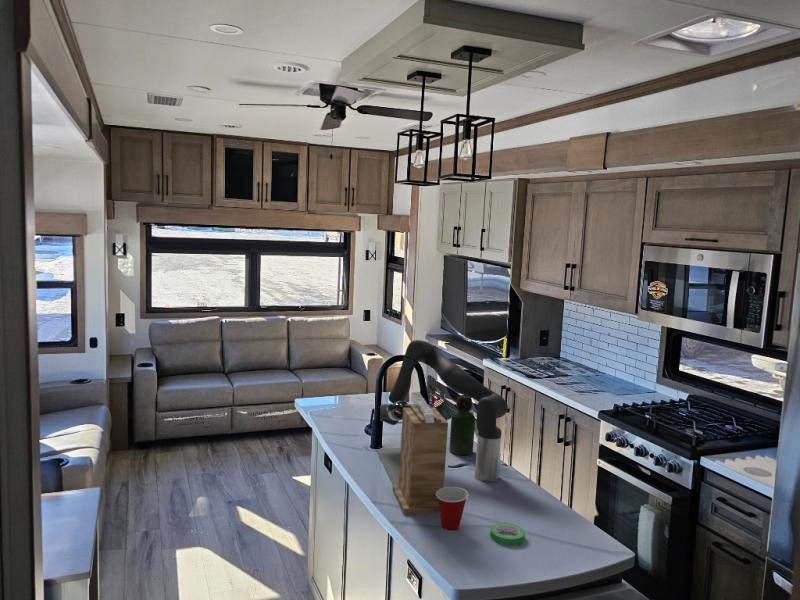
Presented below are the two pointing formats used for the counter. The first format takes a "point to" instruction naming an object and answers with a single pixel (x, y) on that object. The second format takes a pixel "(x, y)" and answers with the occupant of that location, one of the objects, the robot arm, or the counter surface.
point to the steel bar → (422, 407)
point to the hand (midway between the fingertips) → (410, 406)
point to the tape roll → (507, 539)
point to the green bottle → (462, 427)
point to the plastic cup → (451, 506)
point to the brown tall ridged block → (421, 462)
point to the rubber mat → (391, 462)
